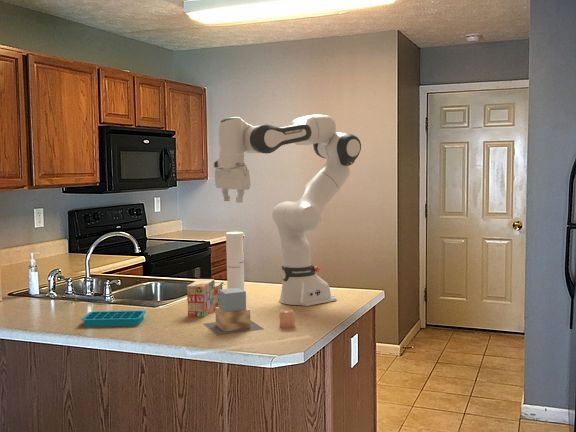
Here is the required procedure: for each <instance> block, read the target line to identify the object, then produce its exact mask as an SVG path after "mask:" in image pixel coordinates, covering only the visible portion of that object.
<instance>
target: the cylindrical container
mask: <svg viewBox="0 0 576 432" xmlns="http://www.w3.org/2000/svg"><path fill="white" fill-rule="evenodd" d="M225 243H226V245H225V248H226V278H227V279H226V284H227V285H226V286H227V288H226V289H231V288H240V289H242V290H244V291H245V266H244V265H245V263H244V261H245V260H244V259H245V258H244V232H243V231H227V232H226V233H225Z"/></svg>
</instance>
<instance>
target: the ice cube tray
mask: <svg viewBox="0 0 576 432" xmlns="http://www.w3.org/2000/svg"><path fill="white" fill-rule="evenodd" d="M146 313H147V311H146V310H102V311H101V310H100V311H89V312H87V314H85V315H83V317H82V318H80V319H81V321H83V325H84V327H87V328H92V327H93V328H94V327H132V326H133V327H134V326H135V327H136V326H139V325H140V324H141V323H142V321H143V320H144V317H145V315H146Z"/></svg>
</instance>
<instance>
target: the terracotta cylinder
mask: <svg viewBox="0 0 576 432" xmlns="http://www.w3.org/2000/svg"><path fill="white" fill-rule="evenodd" d="M278 314H279V315H278V322H279V323H278V324H279V328H281V329H293V328H295V324H296V323H295V310H293V309H289V308H287V309H281V310H279V311H278Z"/></svg>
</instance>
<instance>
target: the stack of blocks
mask: <svg viewBox="0 0 576 432" xmlns="http://www.w3.org/2000/svg"><path fill="white" fill-rule="evenodd" d="M186 287H187V288H186V293H187V295H186V296H187V297H186V298H187V299H186V300H187V317H201V318H205V317H206V316H208V315H213V314H215V307H219V290H221V289H223V282H221V281H219V282H218V281H217V282H216V281H215V279H214V278H213V279H212V278H198V279H196V280H194V281H193V282H192V283H190V284H187V286H186Z"/></svg>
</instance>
